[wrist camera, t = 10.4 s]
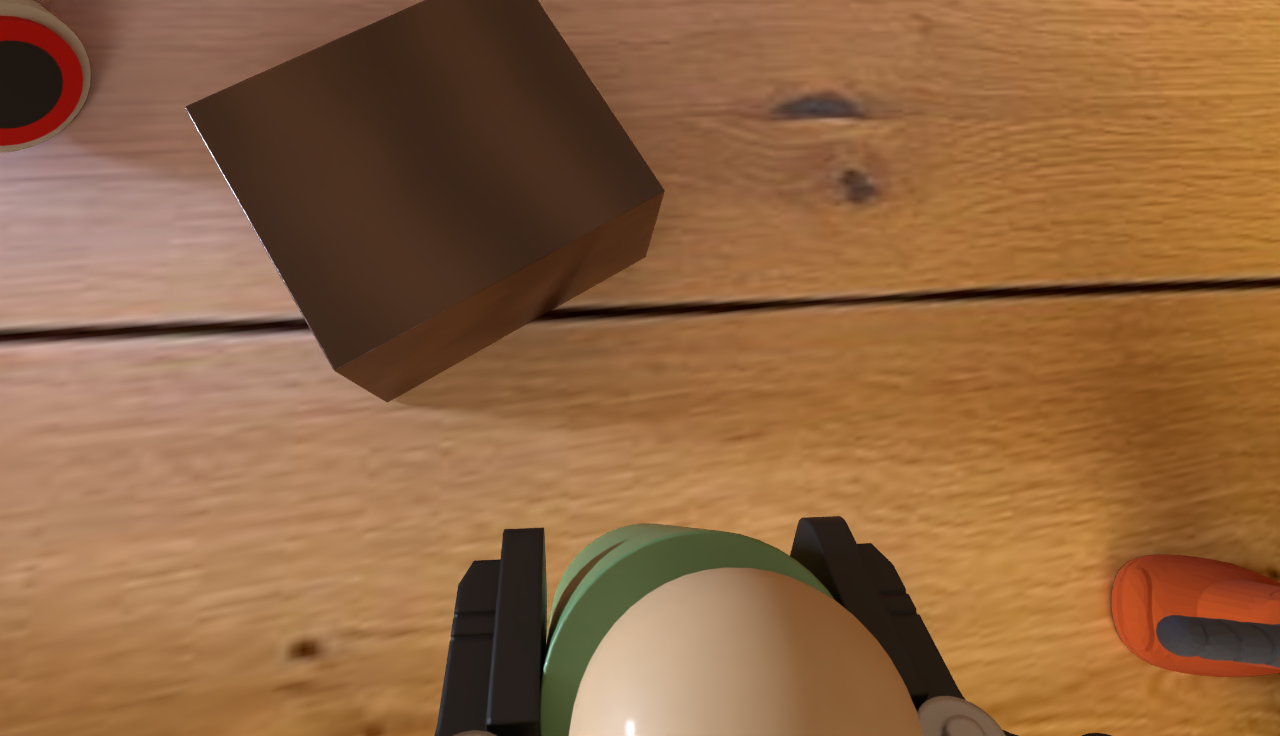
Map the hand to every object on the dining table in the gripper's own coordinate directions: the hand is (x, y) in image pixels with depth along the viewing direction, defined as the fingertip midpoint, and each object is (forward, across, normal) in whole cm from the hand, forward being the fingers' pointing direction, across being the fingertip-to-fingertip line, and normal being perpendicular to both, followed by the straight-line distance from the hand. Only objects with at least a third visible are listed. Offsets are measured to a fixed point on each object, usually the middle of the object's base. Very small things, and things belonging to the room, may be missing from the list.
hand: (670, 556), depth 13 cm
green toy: (+2, 0, +5) cm, 5 cm away
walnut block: (+21, +6, +2) cm, 22 cm away
